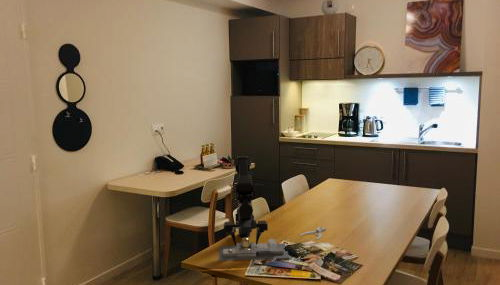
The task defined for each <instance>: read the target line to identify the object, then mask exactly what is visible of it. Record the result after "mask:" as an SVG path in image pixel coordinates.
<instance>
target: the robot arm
mask: <svg viewBox="0 0 500 285" xmlns="http://www.w3.org/2000/svg"><path fill="white" fill-rule="evenodd" d="M251 166H252V157H249V156H236V157H235V158H233V167H234V169H235V171H236V173H237V176H238V177H237V179H236V184H235V200H236V201H237V203H238V204H237V205H238V207H237V208H236V213H235V219H234V220H235V224H234V222H233V221H225V222H224V223H223V232H224V233H226V234H228V235H230V236H231V238H232V241H233V243H234V246H237V239H236V232H235V229H236V230H237V229H238V230H237V231H238V237H239V238H244V237H248V238H249V237H251V233H252V232H253V230H255V229H256V233H255V244H256V245H257V244H258V243H259V240H260V236H261V235H262V234H263V233H265V232H267V231H268V229H269V226H268V221H267V220H266V219H265V220H256V219H255V216H254V214H253V212H254V208H253V204H252V203H253V202H252V200H253V201H254V200H255V197H256V186H255V185H254V184H253V182H252V181H253V180H252V178H251V177H249V172H250V169H251Z"/></svg>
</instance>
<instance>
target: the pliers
mask: <svg viewBox="0 0 500 285" xmlns="http://www.w3.org/2000/svg"><path fill="white" fill-rule="evenodd" d="M326 230H327V227H322V226H318V227H317V228H316V230H313V231H305V232H303V233H301V234H300V235H299V237H302V236H305V235H316V236H317V237H316V239H315V241H317V240H319V239H322V236H323V235H322V234H323V233H322V232H325V231H326Z"/></svg>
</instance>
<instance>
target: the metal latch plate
mask: <svg viewBox="0 0 500 285" xmlns="http://www.w3.org/2000/svg"><path fill="white" fill-rule="evenodd" d="M277 244H278V243H277V241H276V238H268V241H267V242H265V243H264V242H263V243H261V242H260V243H259V242H258V243H257V245H256V241H255V242H253V241H252V242H249V247H250V248H243V246H242V242H236V246H237V254H244V253H256V252H257V251H277Z"/></svg>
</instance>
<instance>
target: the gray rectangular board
mask: <svg viewBox="0 0 500 285" xmlns="http://www.w3.org/2000/svg"><path fill="white" fill-rule="evenodd" d="M277 247H282V248H283V251H284V255H263V256H258V251H257V252H256V257H250V258H237V257H223V249H237V245H236V246H235V245H220V246H219V248H218V258H217V259H218V260H217V261H219V262H223V261H225V262H226V261H227V262H228V261H229V262H230V261H247V260H249V261H250V260H268V259H269V260H270V259H275V260H276V259H290V256H289V251H288V250H287V251H285V249H284V248H285V247H286V248H287V246H286V244H285V243H277Z"/></svg>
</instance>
